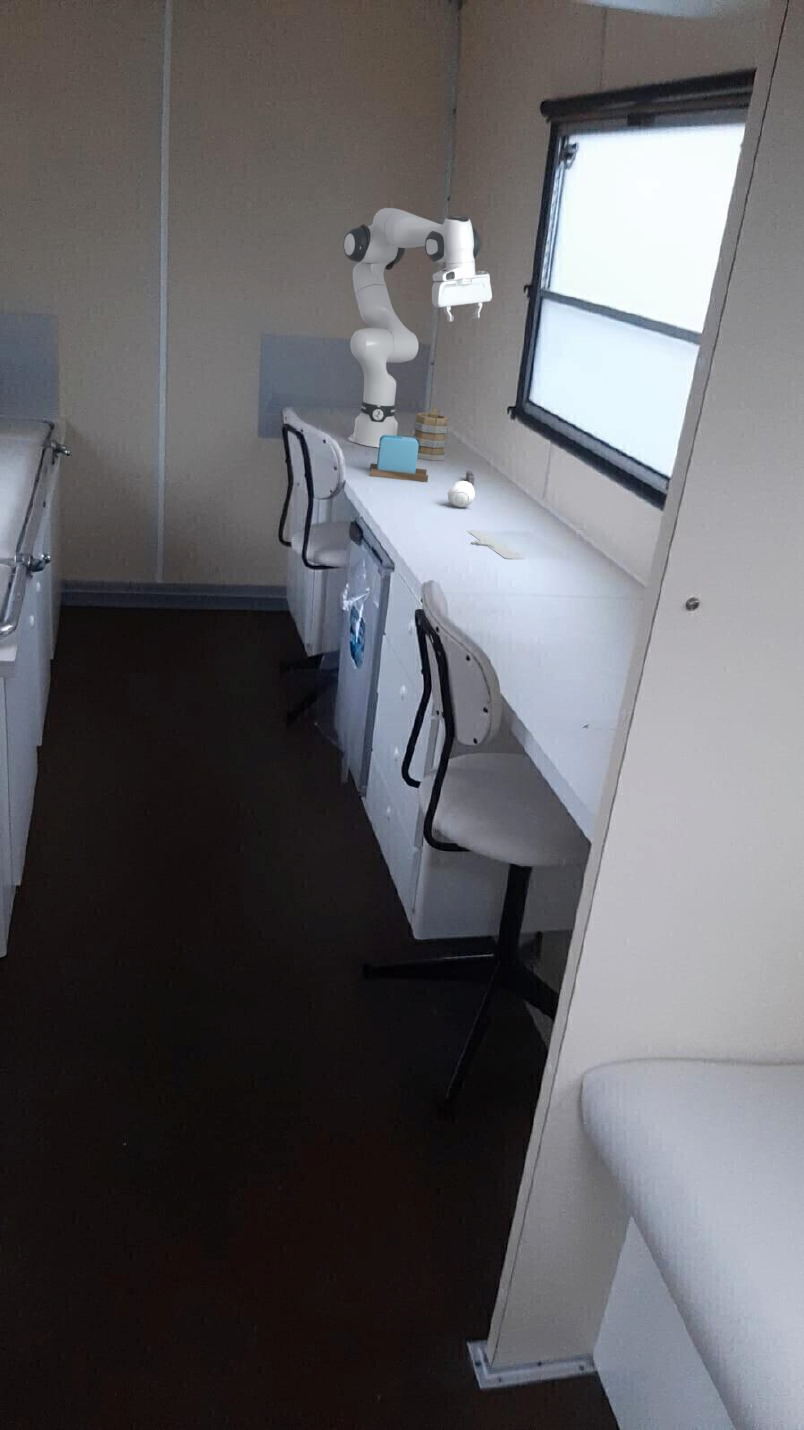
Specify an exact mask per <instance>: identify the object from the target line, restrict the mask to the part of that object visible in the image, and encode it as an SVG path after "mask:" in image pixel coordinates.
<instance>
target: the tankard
mask: <svg viewBox="0 0 804 1430" xmlns="http://www.w3.org/2000/svg"><path fill="white" fill-rule="evenodd" d="M448 419H449V417H448V416H445V415H443V414H439V413H438V407H433V408H432V411H431V412H418V413H417V414H416V419H415V421H414V423H413V429H414V434H413V435H412V437H411V438H415V439H416V440H417V442H418V454H417V460H424V461H430V462H431V461H432V462H434V461H435V462H437V461H439V462H440V461H445V460H446V458H447V456H448V455H447V452H445V451H444V448H445V447H446V444H447V438H446V434H447V432H448V431H449V424H448Z"/></svg>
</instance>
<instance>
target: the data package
mask: <svg viewBox="0 0 804 1430" xmlns="http://www.w3.org/2000/svg"><path fill="white" fill-rule="evenodd" d="M417 454H418V442H417V440H416V439H415V438H412V437H410V436H409V437H407V436H399V435H397V436H390V435H383V436H381V438H380V442H379V447H378V453H377V462H376V464H377V469H379V470H388V471H397V472H406V473H415V470H416V468H417V463H418V462H417V460H418V459H417Z"/></svg>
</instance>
